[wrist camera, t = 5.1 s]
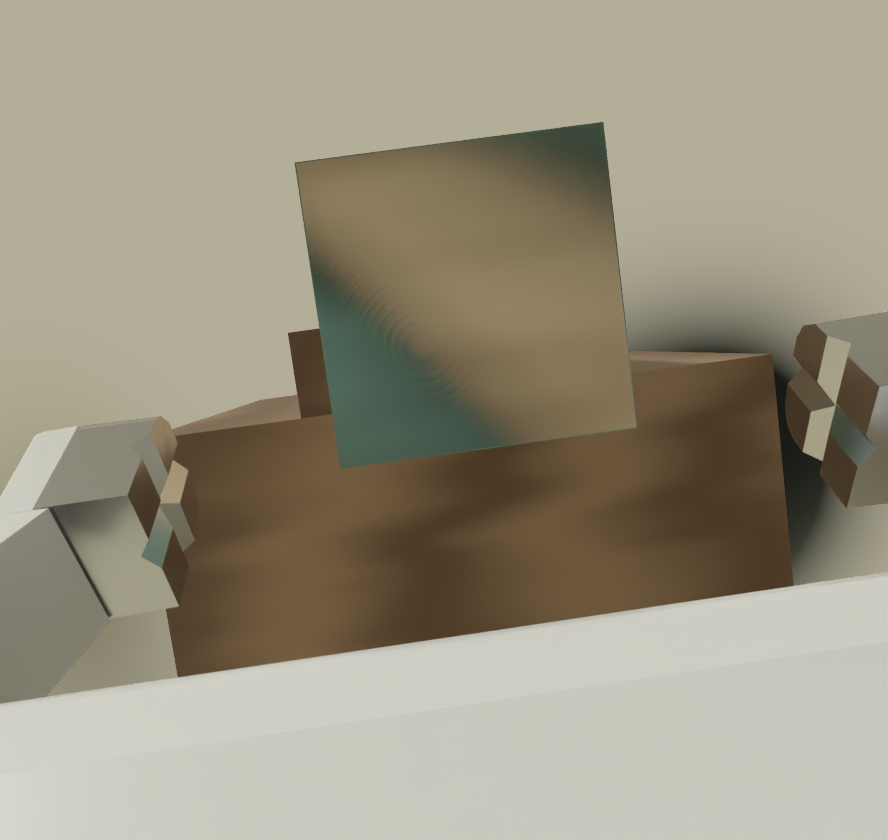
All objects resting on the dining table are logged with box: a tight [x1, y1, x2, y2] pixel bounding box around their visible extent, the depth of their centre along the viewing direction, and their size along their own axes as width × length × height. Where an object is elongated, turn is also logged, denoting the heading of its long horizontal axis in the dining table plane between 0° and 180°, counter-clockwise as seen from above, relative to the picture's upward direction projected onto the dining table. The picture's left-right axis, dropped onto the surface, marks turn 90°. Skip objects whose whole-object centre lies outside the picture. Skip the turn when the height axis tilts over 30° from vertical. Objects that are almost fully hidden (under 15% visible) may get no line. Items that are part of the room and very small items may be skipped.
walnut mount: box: [166, 329, 793, 677], centre depth 26 cm, size 15×14×28 cm
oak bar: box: [295, 122, 637, 469], centre depth 21 cm, size 24×4×4 cm, turn 2°
